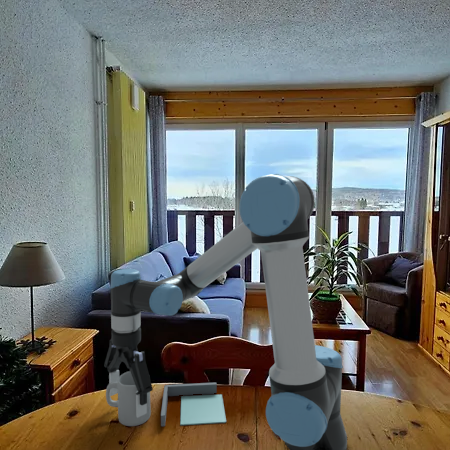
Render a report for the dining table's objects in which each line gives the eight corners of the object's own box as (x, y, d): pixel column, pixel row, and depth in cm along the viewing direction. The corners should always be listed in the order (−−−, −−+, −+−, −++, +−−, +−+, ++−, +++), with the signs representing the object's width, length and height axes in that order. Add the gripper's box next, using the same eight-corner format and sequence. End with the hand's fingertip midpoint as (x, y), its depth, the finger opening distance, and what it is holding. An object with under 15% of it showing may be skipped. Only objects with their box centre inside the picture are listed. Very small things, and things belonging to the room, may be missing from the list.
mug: (154, 407, 104) (153, 370, 103) (145, 427, 96) (145, 386, 94) (112, 406, 105) (111, 369, 104) (100, 425, 96) (99, 385, 95)
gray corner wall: (216, 391, 112) (216, 382, 112) (220, 423, 97) (220, 412, 97) (164, 394, 111) (164, 385, 110) (161, 426, 96) (160, 415, 96)
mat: (221, 395, 110) (221, 394, 110) (226, 422, 98) (226, 421, 97) (181, 397, 109) (181, 396, 109) (180, 425, 96) (180, 424, 96)
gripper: (166, 337, 92) (166, 418, 94) (115, 312, 109) (116, 381, 111) (140, 346, 86) (141, 431, 89) (90, 319, 104) (92, 390, 106)
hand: (127, 403), depth 100 cm, fingers open, 13 cm apart
